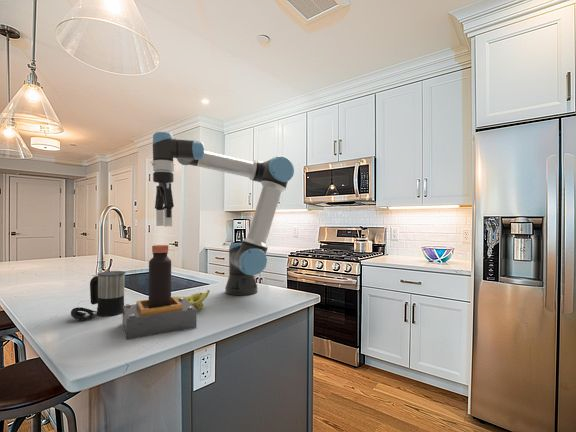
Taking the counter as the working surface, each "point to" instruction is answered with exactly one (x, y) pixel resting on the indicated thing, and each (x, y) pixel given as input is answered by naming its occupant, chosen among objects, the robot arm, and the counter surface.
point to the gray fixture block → (158, 318)
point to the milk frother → (104, 295)
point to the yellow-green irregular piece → (196, 299)
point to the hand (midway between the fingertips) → (164, 226)
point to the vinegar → (159, 277)
